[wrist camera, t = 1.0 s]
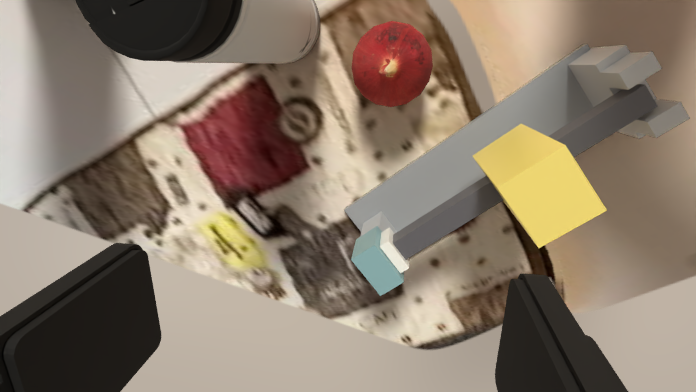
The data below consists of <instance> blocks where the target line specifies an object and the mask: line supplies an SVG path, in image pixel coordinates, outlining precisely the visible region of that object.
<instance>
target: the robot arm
mask: <svg viewBox="0 0 696 392" xmlns="http://www.w3.org/2000/svg"><path fill="white" fill-rule="evenodd" d="M160 341H161V330H160V325H159V318H158V313H157V307H156V301H155V295H154V289H153V283H152V277H151V272H150V266H149V261H148V255H147V253H146V252H145V251H144V250H142V248H141V247H140V246H139V245H136V244H123V243H115V244H113V245H111V246H110V247H108V248H106V249H105V250H104V251H102V252H100V253H99V254H97V255H95V256H94V257H92V258H91V259H90V260H88V261H86V262H85V263H83V264H82V265H80V266H78V267H77V268H75V269H74V270H72V271H70V272H69V273H67V274H66V275H64V276H63V277H61V278H60V279H58V280H56V281H55V282H53V283H52V284H50V285H49V286H47V287H46V288H44V289H42V290H41V291H39V292H38V293H36V294H35V295H33V296H31V297H30V298H28V299H27V300H25V301H24V302H22V303H21V304H19V305H17V306H16V307H14V308H13V309H11V310H10V311H8V312H6V313H5V314H3V315H2V316H0V392H120V391H121V390H122V389H123V387H124V386H125V385H126V384H127V383H128V382H129V381H130V380H131V378H132V377H133V376H134V375H135V374H136V373H137V371H138V370H139V369H140V368H141V367H142V365H143V364H144V363H145V362H146V361H147V360H148V358H149V357H150V356H151V355H152V354H153V353H154V352H155V350H156V349H157V348H158V346H159V344H160ZM495 379H496V386H497V390H498V392H628V391H627V389H626V388H625V386H624V385H623V383H622V382H621V380H620V379H619V377H618V376H617V374H616V373H615V371H614V370H613V368H612V367H611V365H610V364H609V362H608V360H607V359H606V357H605V356H604V354H603V353H602V351H601V350H600V349H599V347H598V345H597V344H596V342H595V341H594V340H593V339H592V338H591V337H589V336H587V335H585V334H584V333H583V331H582V329H581V328H580V326H579V325H578V323H577V322H576V320H575V318H574V317H573V315H572V314H571V312H570V311H569V309H568V307H567V306H566V304H565V303H564V301H563V300H562V298H561V296H560V295H559V293H558V292H557V290H556V289H555V287H554V285H553V284H552V282H551V281H550V279H549V278H548V277H547V276H546V275H534V274H520V275H519V277H518V279H511V281H510V284H509V289H508V296H507V302H506V308H505V314H504V320H503V326H502V333H501V339H500V345H499V351H498V357H497V363H496V370H495Z"/></svg>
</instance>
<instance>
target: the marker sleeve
mask: <svg viewBox="0 0 696 392" xmlns="http://www.w3.org/2000/svg"><path fill="white" fill-rule="evenodd" d="M473 158H474V159H475V161H476V162H477V164H478V165H479V167H480V168H481V169H482V171H483V172H484V174H485V175H487V177H488V178H489V179H490V181H491V182H492V184H493V185H494V187H495V188H496V190H497V191H498V192H499V194H500V195H501V197H502V198H503V201H504V203H505V204H506V205H507V207H508V208H509V209H510V211H511V212H512V213H513V215H514V216H515V217H516V219H517V220H518V221H519V223H520V224H521V225H522V227H523V228H524V229H525V231H526V232H527V233H528V235H529V236H530V237H531V239H532V240H533V241H534V243H535V244H536V245H537V247H538V248H540V247H542V246H544V245H546V244H547V243H549V242H551V241H553V240H555V239H557V238H558V237H560V236H562V235H564V234H566V233H567V232H569V231H571V230H573V229H575V228H576V227H578V226H580V225H582V224H584V223H585V222H587V221H589V220H591V219H593V218H594V217H596V216H598V215H600V214H602V213H603V212H605V211H607V209H606V208H605V206H604V205H603V203H602V202H601V200H600V198H599V197H598V195H597V194H596V192H595V191H594V189H593V187H592V186H591V184H590V183H589V181H588V180H587V178H586V176H585V175H584V173H583V172H582V170H581V169H580V167H579V165H578V164H577V162H576V161H575V159H574V158H573V156H572V154H571V153H570V151H569V150H568V148H567V147H566V145H564V144H562V143H560V142H558V141H556V140H554V139H552V138H550V137H548V136H546V135H544V134H542V133H540V132H538V131H535V130H533V129H531V128H529V127H527V126H525V125H523V124H520V125H518V126H517V127H515V128H514V129H512V130H511V131H509V132H508V133H506V134H504V135H503V136H501V137H500V138H498V139H497V140H495V141H494V142H492V143H491V144H489V145H488V146H486V147H485V148H483V149H482V150H480V151H479V152H477V153H476V154H474V155H473Z"/></svg>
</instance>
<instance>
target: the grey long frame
mask: <svg viewBox="0 0 696 392" xmlns="http://www.w3.org/2000/svg"><path fill="white" fill-rule="evenodd" d="M661 69H662V68H661V66H660V64H659V62H658V60H657V59H656V57H655V55H654V53H653V52H652V51H651V52H632V53H630V51H629V50H628V48H627V46H626V45H617V46H605V47H594V48H589V46H588V44H583V45H582V46H580V47H579V48H577V49H576V50H574V51H573V52H571V53H570V54H569V55H567V56H566V57H564V58H563V59H561V60H560V61H558V62H557V63H555V64H554V65H552V66H551V67H550V68H548V69H547V70H545V71H544V72H542V73H541V74H539V75H538V76H536V77H535V78H534V79H532V80H531V81H529V82H528V83H526V84H525V85H523V86H522V87H520V88H519V89H518V90H516V91H515V92H513V93H512V94H510V95H509V96H507V97H506V98H504V99H503V100H502V101H500V102H499V103H497V104H496V105H494V106H493V107H491V108H490V109H488V110H487V111H485V112H484V113H483V114H481V115H480V116H478V117H477V118H475V119H474V120H472V121H471V122H469V123H468V124H467V125H465V126H464V127H462V128H461V129H459V130H458V131H456V132H455V133H453V134H452V135H451V136H449V137H448V138H446V139H445V140H443V141H442V142H440V143H439V144H437V145H436V146H435V147H433V148H432V149H430V150H429V151H427V152H426V153H424V154H423V155H421V156H420V157H418V158H417V159H416V160H414V161H413V162H411V163H410V164H408V165H407V166H405V167H404V168H402V169H401V170H400V171H398V172H397V173H395V174H394V175H392V176H391V177H389V178H388V179H386V180H385V181H384V182H382V183H381V184H379V185H378V186H376V187H375V188H373V189H372V190H370V191H369V192H368V193H366V194H365V195H363V196H362V197H360V198H359V199H357V200H356V201H354V202H353V203H352V204H350V205H349V206H347V207H346V208H345V209H344V211H345V212H346V213H347V215H348V216H349V217H350V218H351V220H352V221H353V222H354V224H355V225H356V226H357V227H358V229H359V230H360V231H361V236H360V237H359V238H358V239H356V243H355V247H354V251H353V255H352V259H351V260H352V261H353V262H354V264H355V265H356V266H357V267H358V269H359V270H360V271H361V272H362V274H363V275H364V276H365V277H366V279H367V280H368V281H369V282H370V284H371V285H372V286H373V287H374V289H375V290H376V291H377V292H378V294H379V295H380V296H381V295H383V294H385V293H386V292H388V291H390V290H392V289H393V288H395V287H397V286H398V285H400V284H402V283H403V282H404V271H405V270H407V269H409V257H411V256H412V255H414V254H416V253H417V252H419V251H421V250H422V249H424V248H426V247H427V246H429V245H431V244H432V243H434V242H435V241H437V240H439V239H440V238H442V237H444V236H445V235H447V234H449V233H450V232H452V231H454V230H455V229H457V228H459V227H460V226H462V225H463V224H465V223H467V222H468V221H470V220H472V219H473V218H475V217H477V216H478V215H480V214H482V213H483V212H485V211H486V210H488V209H490V208H491V207H493V206H495V205H496V204H498V203H500V202H501V201H503V198H502V197H501V195H500V194H499V192H498V191H497V190H496V188H495V187H494V185H493V184H492V182H491V181H490V179H489V178H488V177H487V175H485V174H484V172H483V171H482V169H481V168H480V167H479V165H478V164H477V162H476V161H475V159H474V158H473V155H474V154H476V153H477V152H479V151H480V150H482V149H483V148H485V147H486V146H488V145H489V144H491V143H492V142H494V141H495V140H497V139H498V138H500V137H501V136H503V135H504V134H506V133H508V132H509V131H511V130H512V129H514V128H515V127H517V126H518V125H520V124H523V125H525V126H527V127H529V128H531V129H533V130H535V131H538V132H540V133H542V134H544V135H546V136H548V137H550V138H552V139H554V140H556V141H558V142H560V143H562V144H564V145H566V147H567V148H568V150H569V151H570V153H571V154H572V156H573V158H574V157H575V156H577V155H579V154H580V153H582V152H584V151H585V150H587V149H588V148H590V147H592V146H593V145H595V144H597V143H598V142H600V141H602V140H603V139H605V138H607V137H608V136H610V135H612V134H613V133H615V132H619V133H622V134H625V135H629V136H632V137H635V138H638V139H640V138H642V137H644V136H645V135H648V136H652V137H655V138H657V137H659V136H661V135H662V134H664V133H666V132H668V131H669V130H671V129H673V128H674V127H676V126H678V125H679V124H681V123H683V122H685V121H686V120H688V119H690V118H689V116H688V114H687V112H686V110H685V109H684V107H683V105H682V103H681V102H677V101H669V100H662V99H657V98H656V97H655V95H654V93H653V91H652V90H651V88H650V86H649V84H648V83H647V81H646V78H648V77H650V76H651V75H653V74H654V73H656V72H658V71H659V70H661Z"/></svg>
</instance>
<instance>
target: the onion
mask: <svg viewBox="0 0 696 392" xmlns="http://www.w3.org/2000/svg"><path fill="white" fill-rule="evenodd" d="M432 67H433V64H432V52H431V49H430V47H429V45H428V43H427V41H426V39H425V37H424V35H422V34H421V33H420V32H419V31H417V30H416V29H415V28H414V27H412V26H411V25H410V24H405V23H400V22H394V21H390V22H387V23H384V24H381V25H377V26H374V27H373V28H372V29H370V30H369V31H368V32H367V33H366V34H365V35H364V36H363V37H361V39H360V41H359V43H358V45H357V46H356V48H355V50H354V52H353V60H352V72H353V78H354V83H355V85H356V86H357V88H358V89H359V91H360V92H361V93H362V95H363V96H364V97H365V98H367V99H369V100H370V101H372V102H373V103H375V104H377V105H383V106H388V107H393V106H398V105H403V104H407V103H408V102H410V101H411V100H413V99H414V98H416V97H417V96H419V95H420V94H421V92H422V91H423V89H424V88H425V86H426V85H427V83H428V82H429V79H430V75H431V71H432Z"/></svg>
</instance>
